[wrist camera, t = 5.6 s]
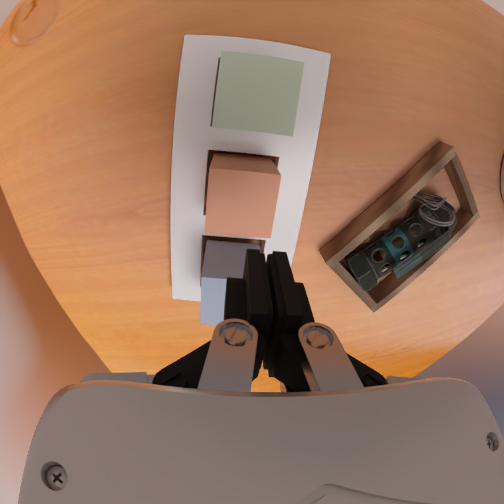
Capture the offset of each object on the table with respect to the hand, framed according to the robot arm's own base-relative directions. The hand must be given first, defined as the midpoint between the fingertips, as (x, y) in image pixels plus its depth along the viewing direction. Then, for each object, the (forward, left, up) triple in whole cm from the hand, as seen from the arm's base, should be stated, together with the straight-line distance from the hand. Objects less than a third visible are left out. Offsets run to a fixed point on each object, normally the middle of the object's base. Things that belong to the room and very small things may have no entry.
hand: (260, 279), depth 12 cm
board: (0, 0, -16) cm, 16 cm away
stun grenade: (-8, +16, -16) cm, 24 cm away
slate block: (+7, +5, -14) cm, 16 cm away
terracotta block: (0, 0, -15) cm, 15 cm away
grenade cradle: (-10, +17, -16) cm, 25 cm away
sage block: (-6, -5, -14) cm, 16 cm away
